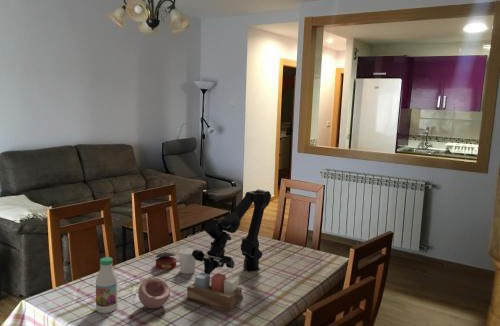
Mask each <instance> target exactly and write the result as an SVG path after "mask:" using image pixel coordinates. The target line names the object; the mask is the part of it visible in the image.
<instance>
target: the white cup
mask: <svg viewBox="0 0 500 326" xmlns="http://www.w3.org/2000/svg"><path fill="white" fill-rule="evenodd" d="M194 250H195V248H191V247H188V248H187V247H186V248H185V247H184V248H182V249H180V250H179V267H180V273H182V274H185V275H191V274H193V273H194V272H195V271H196V264H197V263H196V262H197V260H196V259H195V258H194V257H193V256H192V255H191V254H192V252H193V251H194Z"/></svg>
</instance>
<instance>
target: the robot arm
mask: <svg viewBox="0 0 500 326" xmlns="http://www.w3.org/2000/svg"><path fill="white" fill-rule="evenodd" d="M271 199H272V194H271V192H270V191H269V190H265V189H260V188H258V189H256V190H251V191H246V192H245V194H244V197H243V198H242V199H241V201H240V202H239V203H238V204H237V206H236V207H235V208H234V210H233V211H232V212H231V213H230V214H227V215H225V216H224V218H223V219H222V220H221V221H218V220H217V219H215V218H213V219H212V220H210V221H208V222H207V223H205V224H204V227H203V230H204V232H205V233H206V234H207V235H208V236H209V237H210V238H211V239H213V241H211V242H210V248H209V250H207V252H206V253H207V254H206V253H204V252H203V250H199V249H195V248H194V249H195V250H194V251H193V252H192V254H191V255H192V256H193V257H194V258H195V259H196V261H198V262H203V265H204V266H203V267H204V269H203V273H206V274H210V275H211V273H213V271H215V269H217V268H224V266H225V267H227V268H228V269H234V267H235V261H234V259H233V257H232V256H228V255H225V251H226V249H225V248H226V245H227V242H228V241H231V240H232V237H231V234H235V233H236V232H237V231H238V229H239V227H240V226H241V220H242V219H243V217H244V215H246V213H247V211H248V210H249V209H250V208H251V206H252V205H253V207H254V208H253V212H252V216H251V220H250V225H249V228H248V232H247V235H246V237H245V238H244V237H243V238H242V239H241V242H240V243H241V244H240V251H241V254H242V256H243V257H244V259H243V265H242V268H244V269H245V270H246V271H247V272H255V271H259V270H261V267H259V266H260V265H259V262H260V260H261V258H263V252H262V251H261V250H260V249H259V248H260V242H259V234H260V230H261V225H262V220H263V216H264V212H265V209H266V208H267V207H268V206H269V205H270V202H271Z"/></svg>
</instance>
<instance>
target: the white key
mask: <svg viewBox="0 0 500 326" xmlns="http://www.w3.org/2000/svg"><path fill="white" fill-rule="evenodd" d="M239 280H240V278H239V277H236V276H231V275H230V276H228V277H227V278H226V280H225V281H224V294H228V295H231V294H232V293H233V292H234V291H235V290H236V289H237V288H239Z"/></svg>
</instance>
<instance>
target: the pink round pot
mask: <svg viewBox="0 0 500 326" xmlns="http://www.w3.org/2000/svg"><path fill="white" fill-rule="evenodd" d="M137 292H138V300H139V302H140V303H141V304H142V306H144V307H145V308H148V309H159V308H161V307H162V306H163V305H165V304H166V303H167V302H168V300H169V298H170V296H171V289H170V287H169V285H168V284H167V282H165V281H164V280H163V279H161V278H158V277H148V278H145V279H144V280H143V281H142V283H141V284H140V285H139V288H138V291H137ZM163 307H164V306H163Z"/></svg>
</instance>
